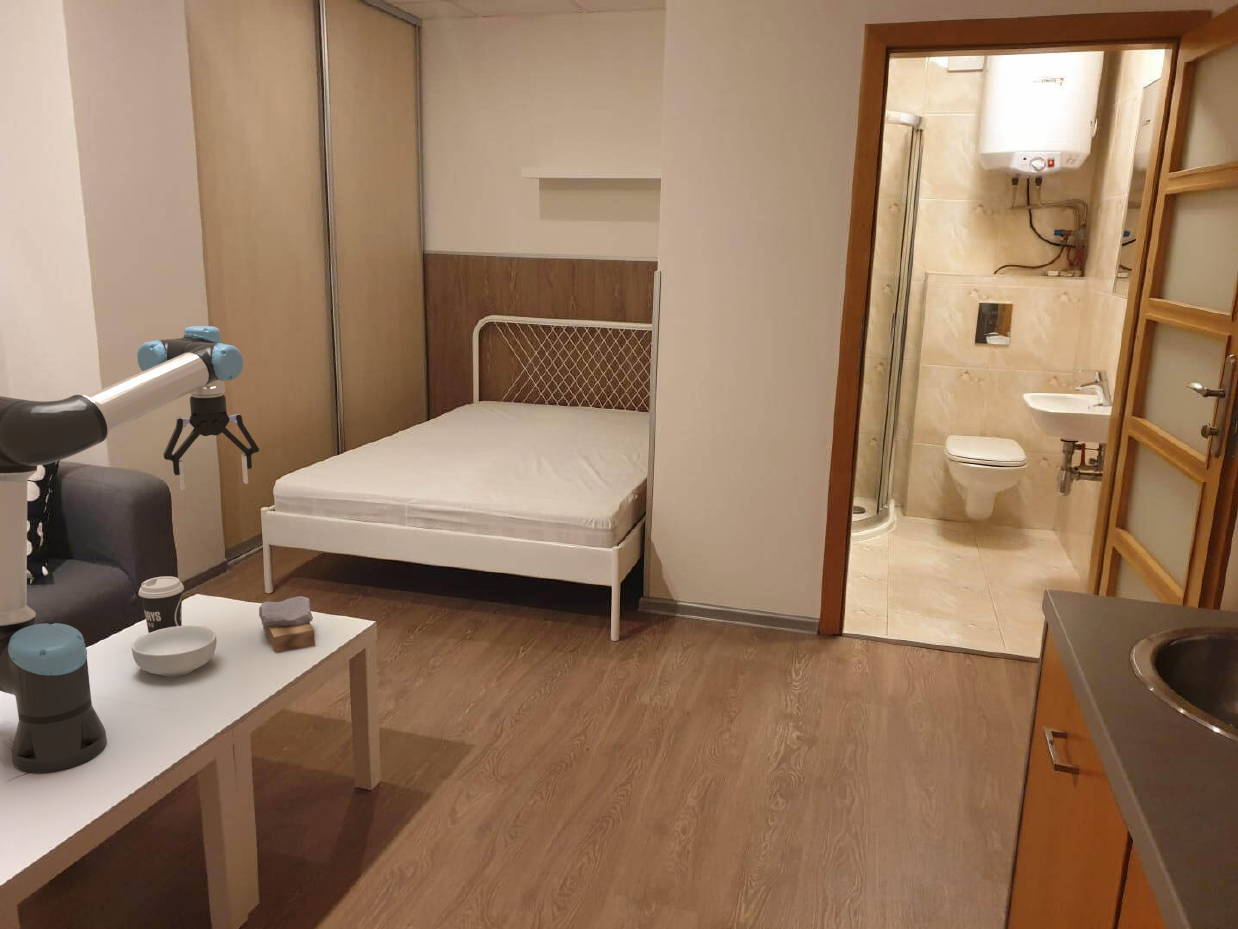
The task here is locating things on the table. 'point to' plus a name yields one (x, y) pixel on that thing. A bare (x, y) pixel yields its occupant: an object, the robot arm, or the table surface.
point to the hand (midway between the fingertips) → (214, 485)
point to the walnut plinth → (290, 637)
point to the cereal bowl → (174, 650)
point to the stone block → (286, 612)
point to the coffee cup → (162, 602)
